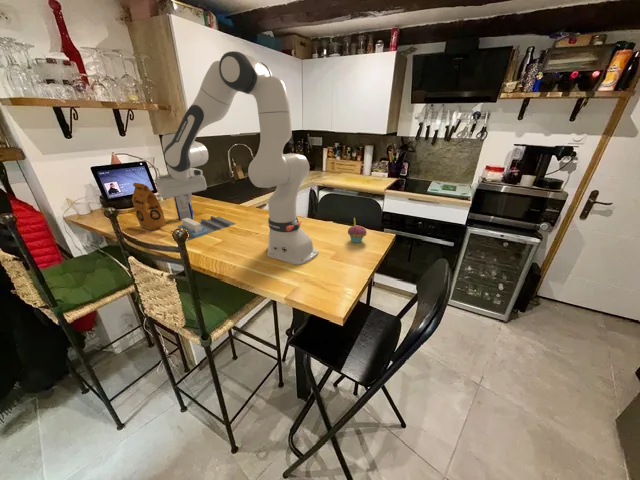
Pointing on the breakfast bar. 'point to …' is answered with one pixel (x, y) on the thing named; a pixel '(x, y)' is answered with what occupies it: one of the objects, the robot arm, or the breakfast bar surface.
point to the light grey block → (192, 225)
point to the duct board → (209, 226)
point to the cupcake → (356, 233)
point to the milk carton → (183, 208)
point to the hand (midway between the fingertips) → (186, 203)
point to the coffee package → (147, 208)
